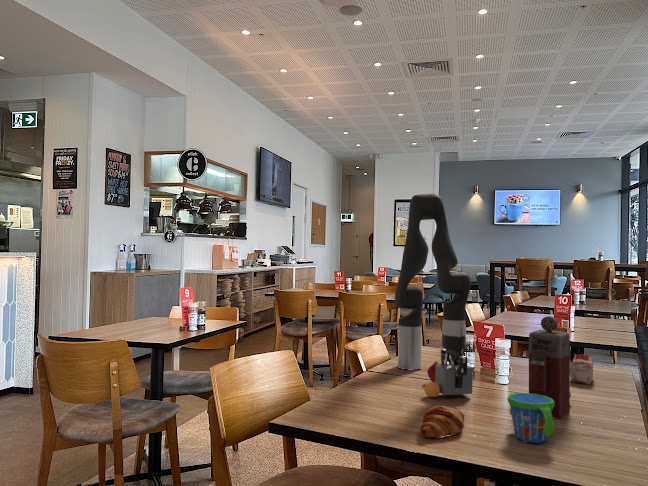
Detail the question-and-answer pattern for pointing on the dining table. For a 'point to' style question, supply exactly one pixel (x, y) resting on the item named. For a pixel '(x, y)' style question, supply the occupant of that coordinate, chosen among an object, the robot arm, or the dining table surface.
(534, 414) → the snack cup
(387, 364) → the dining table surface
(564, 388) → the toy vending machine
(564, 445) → the dining table surface
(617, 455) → the dining table surface
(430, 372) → the onion
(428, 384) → the ball
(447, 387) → the grey rectangular box
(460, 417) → the croissant
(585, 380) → the food item
